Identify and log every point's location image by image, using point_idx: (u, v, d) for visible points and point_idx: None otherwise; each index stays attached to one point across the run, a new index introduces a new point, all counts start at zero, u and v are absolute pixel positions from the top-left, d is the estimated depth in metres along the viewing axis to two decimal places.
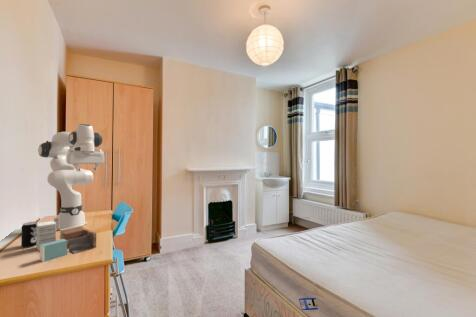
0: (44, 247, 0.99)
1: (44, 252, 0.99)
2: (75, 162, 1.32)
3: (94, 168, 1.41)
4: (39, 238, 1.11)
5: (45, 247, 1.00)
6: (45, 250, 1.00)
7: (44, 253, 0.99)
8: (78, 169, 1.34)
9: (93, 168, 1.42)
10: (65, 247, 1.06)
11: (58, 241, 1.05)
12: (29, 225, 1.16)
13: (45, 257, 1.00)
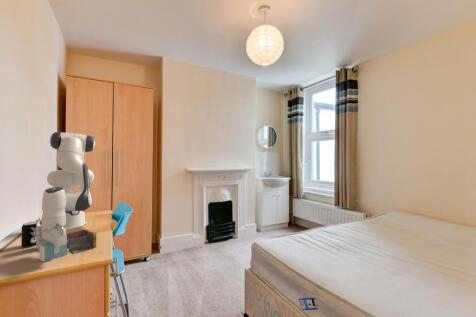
0: (44, 247, 0.99)
1: (44, 252, 0.99)
2: (44, 238, 1.06)
3: (53, 250, 1.02)
4: (39, 238, 1.11)
5: (45, 247, 1.00)
6: (45, 250, 1.00)
7: (44, 253, 0.99)
8: None
9: None
10: (65, 247, 1.06)
11: None
12: (29, 225, 1.16)
13: (45, 257, 1.00)
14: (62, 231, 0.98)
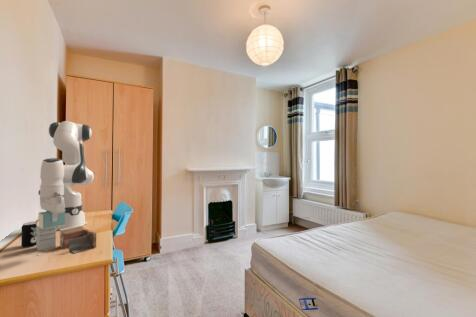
0: (43, 214, 1.02)
1: (43, 219, 1.02)
2: (43, 208, 1.09)
3: (51, 218, 1.05)
4: (39, 238, 1.11)
5: (43, 214, 1.03)
6: (43, 218, 1.03)
7: (43, 220, 1.02)
8: None
9: None
10: (63, 216, 1.09)
11: None
12: (29, 225, 1.16)
13: (43, 224, 1.03)
14: (60, 199, 1.01)
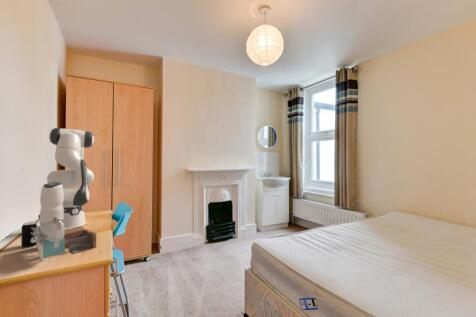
0: (42, 245, 1.02)
1: (42, 249, 1.02)
2: (42, 232, 1.09)
3: (53, 244, 1.04)
4: (39, 238, 1.11)
5: (43, 245, 1.03)
6: (43, 248, 1.03)
7: (42, 250, 1.02)
8: None
9: None
10: (63, 245, 1.09)
11: None
12: (29, 225, 1.16)
13: (43, 254, 1.03)
14: (60, 225, 1.01)
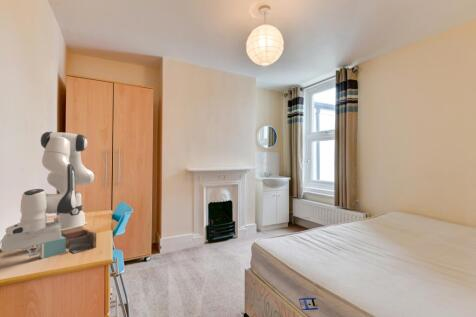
0: (43, 244, 1.03)
1: (43, 249, 1.03)
2: (14, 249, 0.95)
3: (33, 252, 1.01)
4: None
5: (44, 244, 1.03)
6: (44, 247, 1.03)
7: (43, 250, 1.03)
8: (31, 253, 1.00)
9: None
10: (64, 244, 1.09)
11: None
12: None
13: (44, 254, 1.03)
14: None
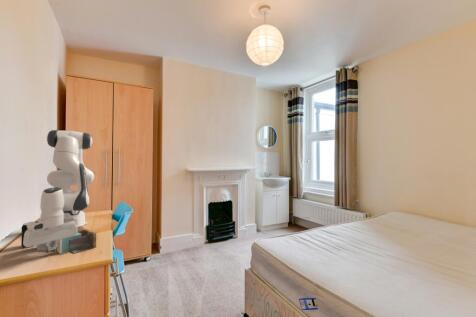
0: (61, 240, 1.08)
1: (61, 244, 1.08)
2: (35, 244, 1.00)
3: (52, 247, 1.06)
4: None
5: (62, 240, 1.08)
6: (62, 243, 1.08)
7: (61, 245, 1.08)
8: (50, 248, 1.06)
9: None
10: None
11: None
12: None
13: (62, 249, 1.09)
14: None
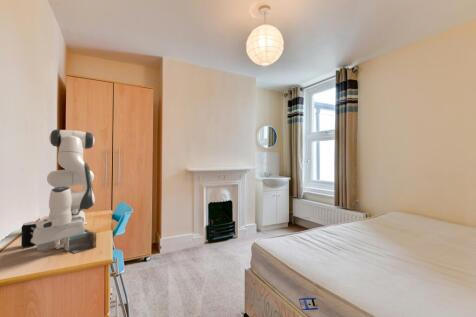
0: (69, 238, 1.11)
1: None
2: (44, 242, 1.03)
3: (60, 245, 1.09)
4: None
5: (70, 238, 1.11)
6: None
7: None
8: (58, 246, 1.08)
9: None
10: None
11: None
12: (29, 225, 1.16)
13: None
14: None
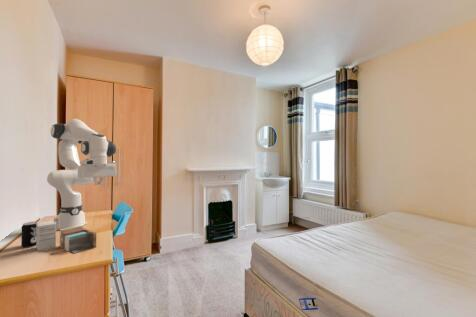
0: (69, 238, 1.11)
1: None
2: (86, 176, 1.24)
3: (98, 182, 1.30)
4: (39, 238, 1.11)
5: (69, 238, 1.11)
6: None
7: None
8: (97, 183, 1.29)
9: (97, 182, 1.30)
10: None
11: (80, 233, 1.17)
12: (29, 225, 1.16)
13: None
14: None
